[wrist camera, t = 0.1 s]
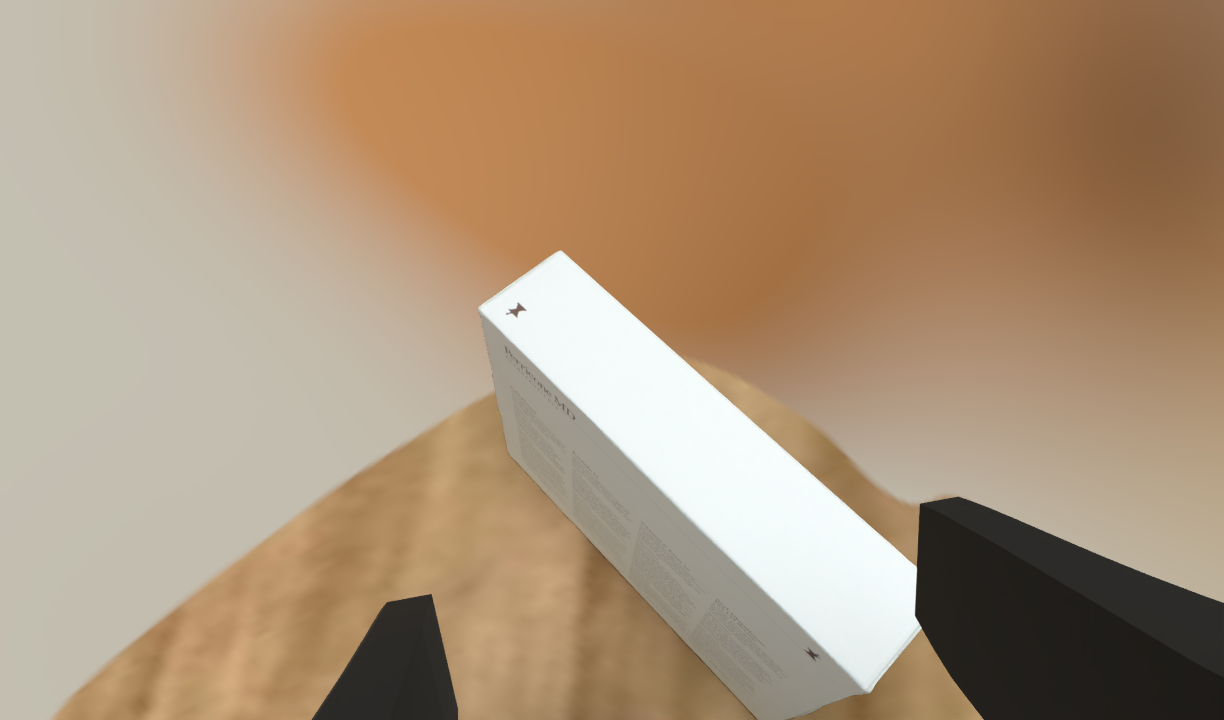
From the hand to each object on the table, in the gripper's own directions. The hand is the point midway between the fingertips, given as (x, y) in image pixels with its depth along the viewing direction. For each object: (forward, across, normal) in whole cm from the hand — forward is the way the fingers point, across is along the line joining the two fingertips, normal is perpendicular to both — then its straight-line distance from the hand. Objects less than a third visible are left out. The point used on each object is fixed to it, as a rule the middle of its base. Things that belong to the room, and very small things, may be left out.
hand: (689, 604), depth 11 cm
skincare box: (+28, -4, +18) cm, 33 cm away
